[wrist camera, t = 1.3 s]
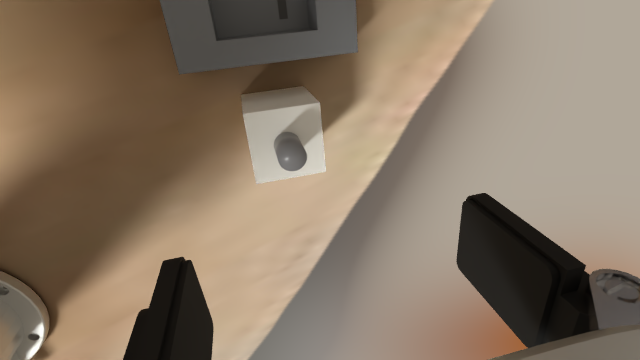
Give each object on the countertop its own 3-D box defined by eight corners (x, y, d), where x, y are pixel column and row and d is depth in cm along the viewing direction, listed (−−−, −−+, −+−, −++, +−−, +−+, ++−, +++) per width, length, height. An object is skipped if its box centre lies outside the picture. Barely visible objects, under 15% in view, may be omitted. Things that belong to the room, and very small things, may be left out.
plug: (309, 143, 30) (334, 186, 22) (252, 153, 29) (258, 200, 22) (303, 85, 28) (328, 111, 20) (240, 94, 27) (243, 124, 19)
